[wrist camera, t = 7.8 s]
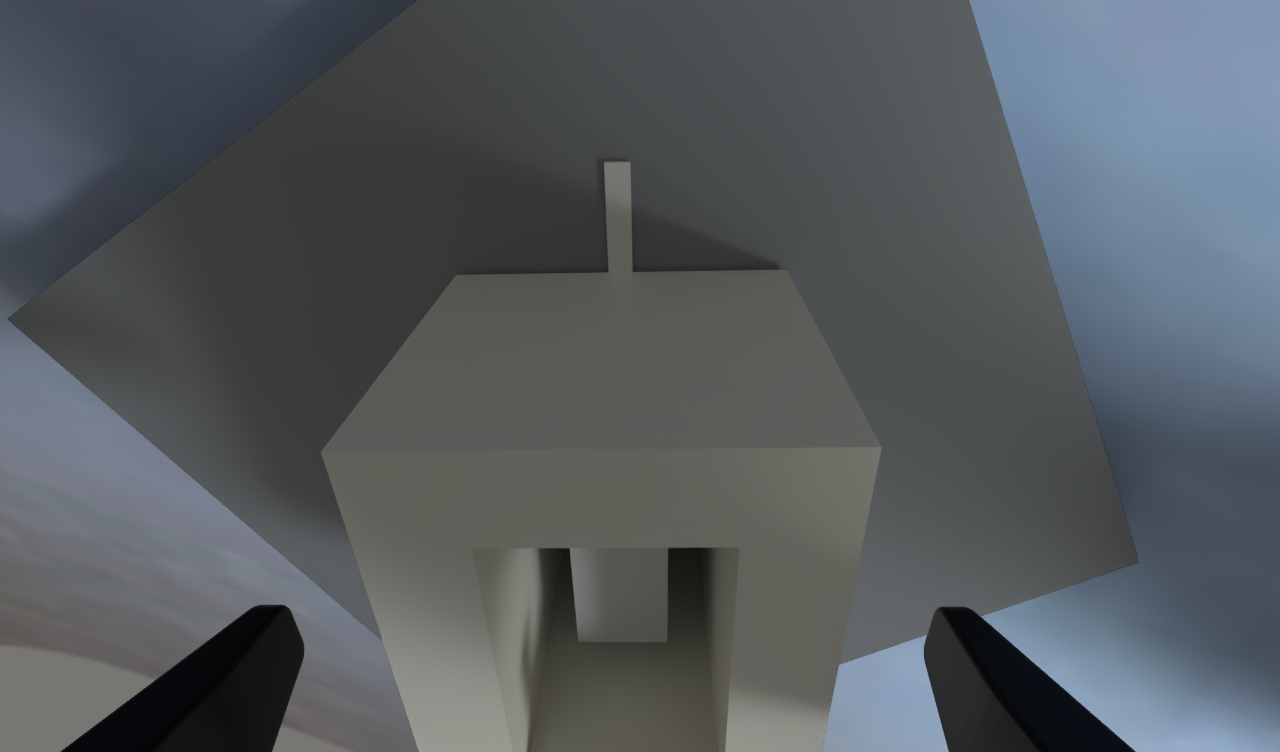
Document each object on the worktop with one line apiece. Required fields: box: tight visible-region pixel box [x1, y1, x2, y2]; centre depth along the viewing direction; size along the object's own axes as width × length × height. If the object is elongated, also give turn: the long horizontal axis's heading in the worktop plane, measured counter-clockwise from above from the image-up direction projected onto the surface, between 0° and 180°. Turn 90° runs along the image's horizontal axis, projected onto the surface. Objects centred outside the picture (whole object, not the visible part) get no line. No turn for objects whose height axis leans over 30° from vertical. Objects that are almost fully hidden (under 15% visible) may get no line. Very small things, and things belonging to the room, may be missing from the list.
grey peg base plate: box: [8, 0, 1139, 665], centre depth 12 cm, size 16×16×4 cm
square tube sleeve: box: [321, 270, 882, 752], centre depth 10 cm, size 6×8×5 cm
